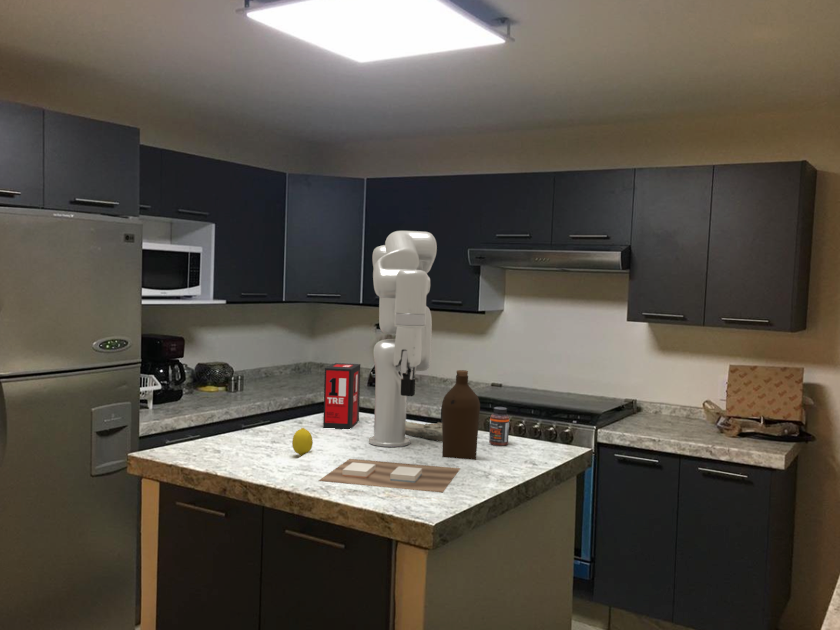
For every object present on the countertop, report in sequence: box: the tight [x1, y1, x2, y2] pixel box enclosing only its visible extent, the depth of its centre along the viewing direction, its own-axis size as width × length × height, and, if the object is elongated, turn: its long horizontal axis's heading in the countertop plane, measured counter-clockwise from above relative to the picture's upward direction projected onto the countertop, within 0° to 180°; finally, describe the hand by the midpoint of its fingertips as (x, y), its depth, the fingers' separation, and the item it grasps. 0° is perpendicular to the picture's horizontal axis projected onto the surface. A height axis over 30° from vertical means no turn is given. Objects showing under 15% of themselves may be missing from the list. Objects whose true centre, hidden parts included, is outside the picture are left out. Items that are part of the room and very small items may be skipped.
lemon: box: [291, 427, 314, 457], centre depth 212 cm, size 6×6×8 cm
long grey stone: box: [405, 421, 443, 443], centre depth 248 cm, size 35×5×10 cm
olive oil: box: [441, 369, 481, 461], centre depth 214 cm, size 11×11×25 cm
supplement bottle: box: [488, 406, 510, 447], centre depth 237 cm, size 6×6×11 cm
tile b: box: [390, 466, 422, 483], centre depth 187 cm, size 2×6×8 cm
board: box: [318, 458, 461, 498], centre depth 190 cm, size 24×30×2 cm
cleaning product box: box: [322, 362, 361, 430], centre depth 261 cm, size 16×9×20 cm, turn 174°
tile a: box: [343, 462, 376, 478], centre depth 190 cm, size 2×6×8 cm
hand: (407, 395), depth 188 cm, fingers closed
